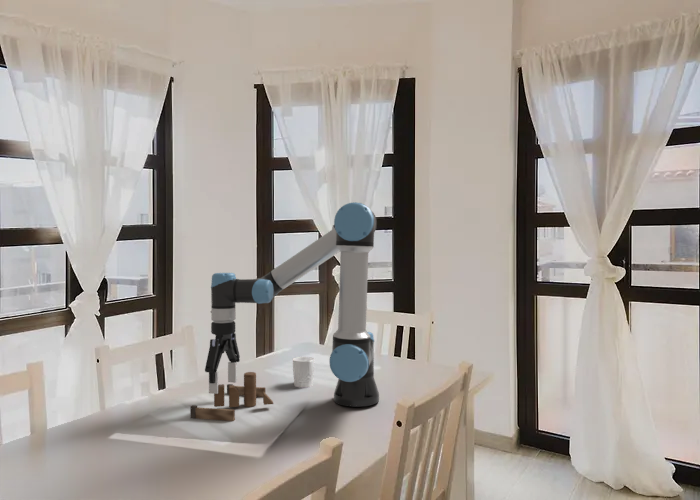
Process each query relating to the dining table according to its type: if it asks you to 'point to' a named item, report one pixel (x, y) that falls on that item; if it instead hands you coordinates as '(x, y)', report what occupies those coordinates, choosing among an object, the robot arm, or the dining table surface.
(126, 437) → the dining table surface
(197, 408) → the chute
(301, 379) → the white cup
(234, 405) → the wooden block set
